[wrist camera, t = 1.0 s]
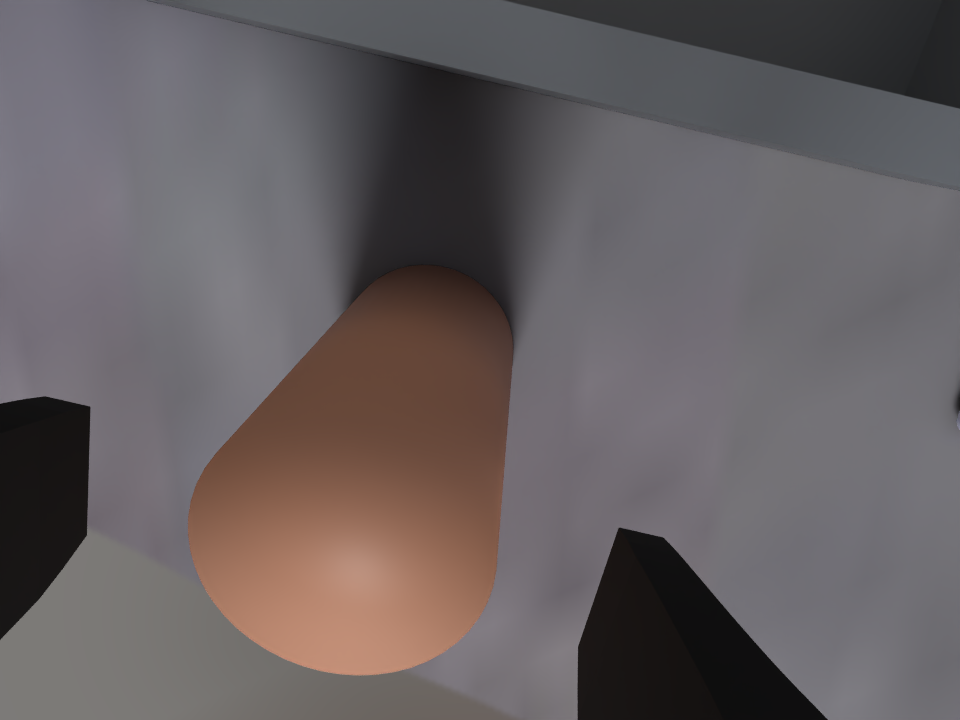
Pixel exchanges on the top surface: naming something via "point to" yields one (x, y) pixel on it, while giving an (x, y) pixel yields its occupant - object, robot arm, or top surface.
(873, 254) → the top surface
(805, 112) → the box
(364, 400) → the peg
